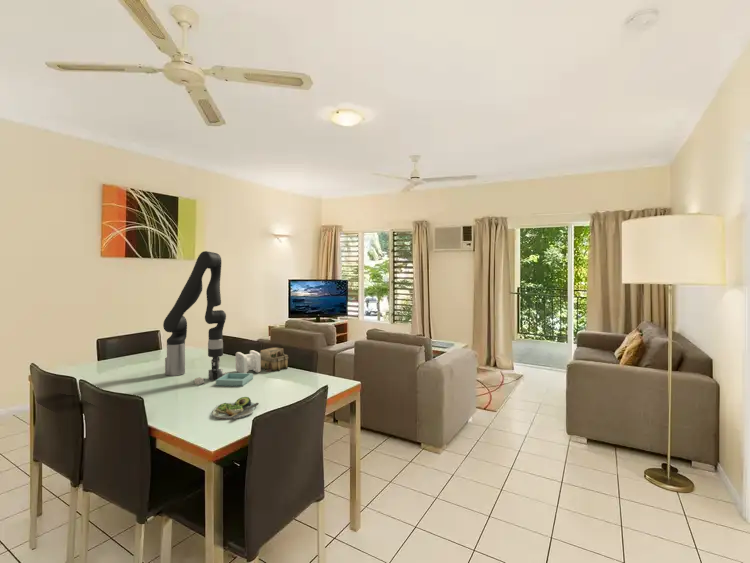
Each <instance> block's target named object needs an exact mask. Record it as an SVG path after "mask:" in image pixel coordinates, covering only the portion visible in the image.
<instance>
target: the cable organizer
mask: <svg viewBox="0 0 750 563" xmlns="http://www.w3.org/2000/svg"><path fill="white" fill-rule="evenodd" d="M260 355H261V352H258V351H256V350H251V349H250V350H249V353H246V354H244V353H242V352H241V351H237V352H236V353H235V370H236V372H237V373H248V372H249V371H251V370H252V371H253V372H255V373H257V374H258V373H260V372H261V370H262V369H261V356H260ZM249 373H250V372H249Z"/></svg>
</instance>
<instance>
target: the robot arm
mask: <svg viewBox="0 0 750 563" xmlns="http://www.w3.org/2000/svg"><path fill="white" fill-rule="evenodd" d="M194 263H195V264H194V266H193V269H192V271H191V273H190V275H189V277H188V279H187V281H186V283H185V285H184V286H183V288H182V290H181V292H180V294H179V296H178V297H177V299H176V301H175V303H174V305H173V306H172V308H171V309H170V311H169V313H167V315H166V317H165V318H164V321H163V324H162V326H163V330H164V331H165V332H167V333H171V334H170V335H169V337H168V338H167V339H166V356H165V358H164V375H166V376H172V377H174V376H181V375H184V374H186V339H187V332H188V322H187V318H186V317H185V316H184V314H185V313H186V312H188V310H189V309H190V308H191V307H192V306H193V305H194V304H196V303H197V301H198V299H199V297H200V296H201V294H202V292H203V277H204V275H205V272H206V271H207V269H208V270H210V280H209V282H208V284H207V288H206V294H205V295H206V309H205V314H204V322H206V324H208V325H214V324H215V326H213V327H211V328H209V329H208V342H207V357H209V358H211V360H210V362H211V364H210V365H211V369H212V373H213V380H212V381H216V380H217V372H218V371H217V369H220V362H221V360H220V357H222V356H224V342H223V341H224V340H223V331H224V327H225V323H226V319H227V314H226V312H225V311H224V310H222V309H219V310H214V308H216V307H218V306H221V305H222V299H221V298H222V296H221V287H220V286H221V276H222V273H221V272H222V257H221V255H220V254H218V253H217V252H212V251H208V250H205V251H202V252H201V253H199V254H198V257H197V259H196V262H194ZM214 369H216V370H214Z"/></svg>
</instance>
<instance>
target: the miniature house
mask: <svg viewBox="0 0 750 563" xmlns="http://www.w3.org/2000/svg"><path fill="white" fill-rule="evenodd" d="M260 356H261V370H263V371H265V372H267V373H272V372H273V373H274V372H275V373H276V372H281V370H288V368H289V366H288V364H289V363H288V362H289V361H288V360H289V355H288V354H285V353H284V348H281V347H276V346H275V347H269V348H266V349H261V350H260Z"/></svg>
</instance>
